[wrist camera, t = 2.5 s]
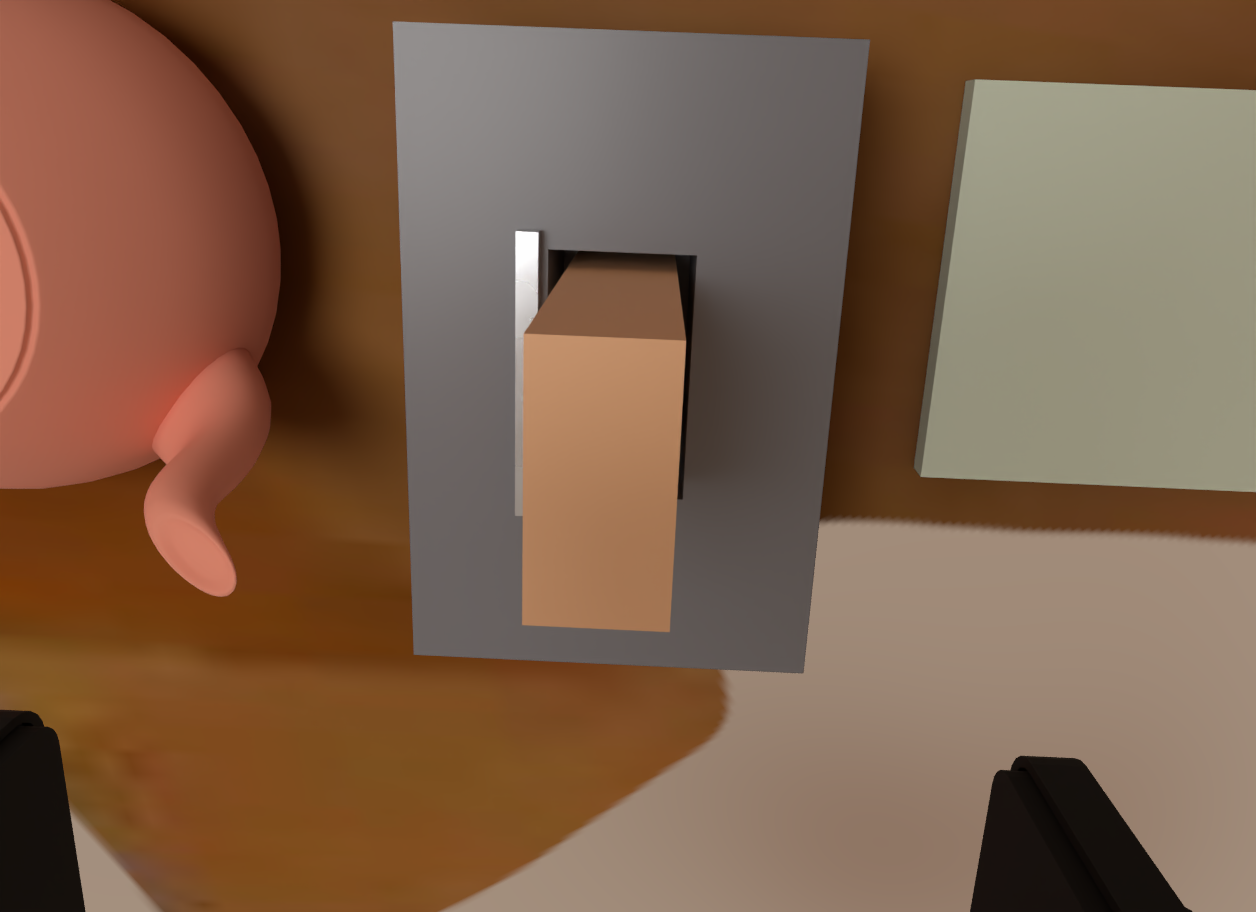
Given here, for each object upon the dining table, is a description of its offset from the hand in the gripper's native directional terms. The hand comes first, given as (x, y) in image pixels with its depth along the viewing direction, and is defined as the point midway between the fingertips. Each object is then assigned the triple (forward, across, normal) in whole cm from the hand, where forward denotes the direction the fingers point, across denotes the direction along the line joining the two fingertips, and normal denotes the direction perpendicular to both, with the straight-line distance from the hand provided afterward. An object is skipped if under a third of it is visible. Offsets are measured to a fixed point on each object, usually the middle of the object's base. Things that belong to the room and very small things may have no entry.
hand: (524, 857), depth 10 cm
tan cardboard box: (+24, 0, 0) cm, 24 cm away
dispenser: (+26, 0, -1) cm, 26 cm away
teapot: (+26, +18, -3) cm, 32 cm away
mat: (+26, -17, -3) cm, 31 cm away
